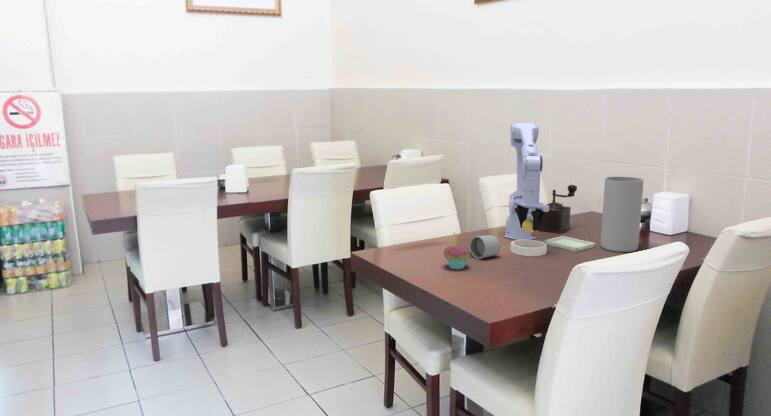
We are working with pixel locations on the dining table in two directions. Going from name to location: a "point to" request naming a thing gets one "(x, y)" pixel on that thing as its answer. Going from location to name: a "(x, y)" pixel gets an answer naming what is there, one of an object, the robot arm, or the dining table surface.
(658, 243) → the dining table surface
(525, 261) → the dining table surface
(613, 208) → the cylinder vase
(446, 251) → the cupcake
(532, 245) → the bowl
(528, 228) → the ball
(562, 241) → the tray
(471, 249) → the ceramic mug
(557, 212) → the brown manual coffee grinder
